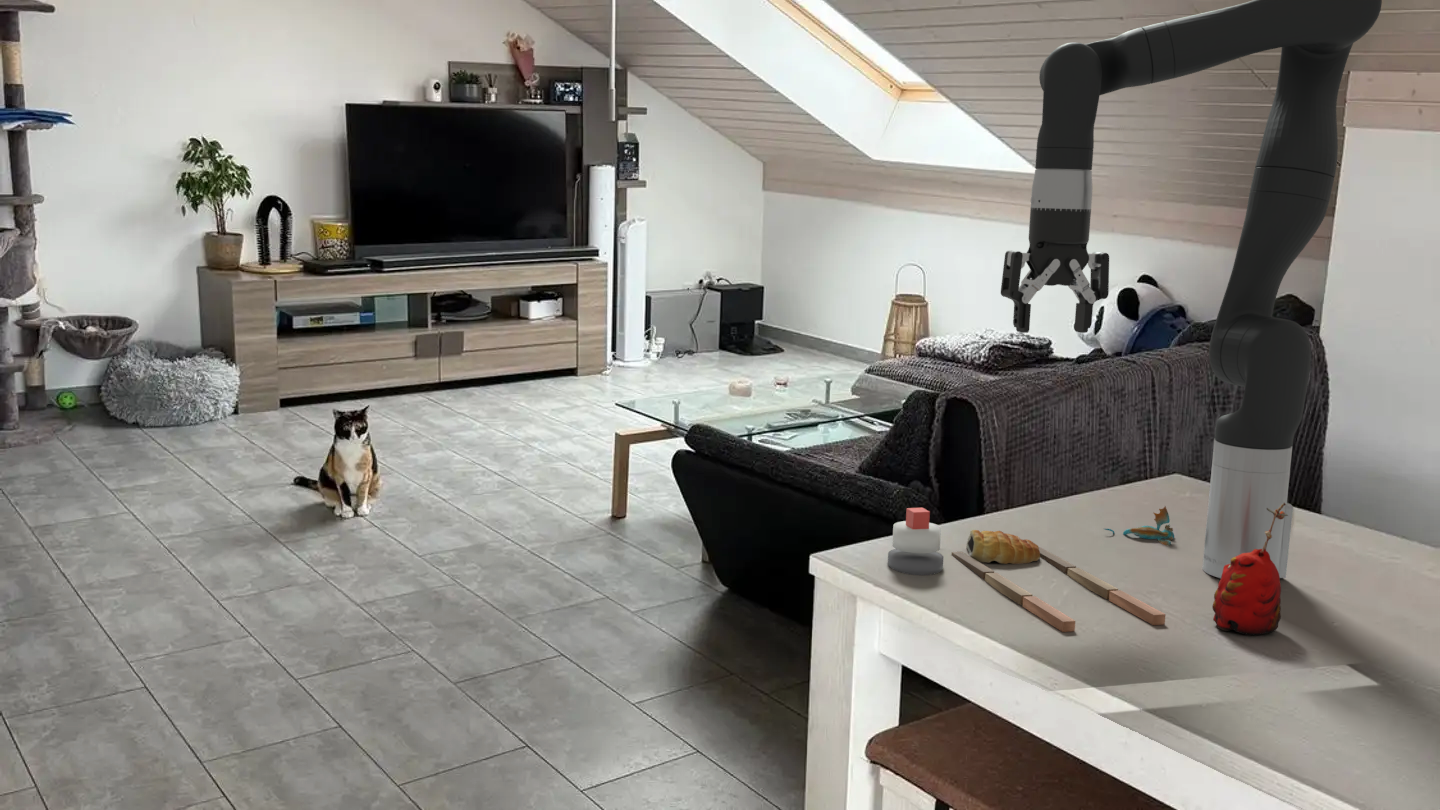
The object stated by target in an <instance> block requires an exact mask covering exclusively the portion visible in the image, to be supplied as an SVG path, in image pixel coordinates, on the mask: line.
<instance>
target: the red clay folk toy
mask: <svg viewBox="0 0 1440 810" xmlns="http://www.w3.org/2000/svg"><path fill="white" fill-rule="evenodd" d="M1285 505H1286V504H1285V503H1283V504H1282V505H1281V506H1280V507H1279V508H1278V509H1276V510H1275V511H1274V512H1273V511H1271V510H1270V509H1268V508H1267V510H1268V511H1270V512H1271V513H1273V515H1274V518H1273V522H1272V525H1271V527H1270V530H1269V531H1265V534H1266V536H1267V539H1266V542H1265V544H1264V546H1263V549H1259V550H1258V549H1254V550H1253V551H1252V552H1249V553H1242V554H1240V555H1238V556H1236V557H1233V558H1232V559H1231V560H1230V561H1231V564H1227V565H1225V566H1224V568H1223V573H1222V576H1221V578H1219V579H1220V580H1219V582H1218V584H1217V588H1216V590H1215V592H1214V594H1213V595H1214V596H1213V599H1214V600H1213V604H1212V610H1213V612H1214V615H1213V622H1215V624H1216V628H1217V629H1219V630H1221V631H1224V632H1230V631H1233V630H1234V632H1236V633H1239V634H1242V635H1246V636H1256V635H1264V634H1265V635H1266V634H1268V633H1273V632H1275V631H1276V630H1278V628H1279V623H1280V621H1281V619H1282V618H1281V617H1282V614H1281V612H1282V611H1281V610H1282V608H1281V607H1282V606H1281V593H1282V586H1281V578H1280V576H1279V573H1278V570H1277V568H1276V566H1275V564H1274V563H1273V562H1272V561H1271V559H1270V555H1269V553H1268V552H1267V551H1266V547H1267V543H1268V540H1269V539H1271V538H1272V535H1271V531H1272V527H1273V524H1274V521H1275V518H1278V519H1283V518H1284V516H1288V515H1287V514H1285V513H1284V511H1281V512H1280V513H1279V511H1280V510H1281V509H1282V508H1283V506H1285Z"/></svg>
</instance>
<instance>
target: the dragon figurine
mask: <svg viewBox="0 0 1440 810" xmlns="http://www.w3.org/2000/svg"><path fill="white" fill-rule="evenodd" d="M1158 510H1159V512H1158V513H1155V512H1154V511H1153V513H1152V514H1154V517H1155V518H1153V520H1154V521H1155V524H1156V527H1154V526H1151V525H1142V526H1140V527H1132V528H1127V529H1125V530H1124V531H1123V532H1122V534H1123V535H1124V536H1126V535H1128V534H1135V535H1137V536H1139V538H1141V539H1146V540H1157V542H1159V544H1162V545H1163V546H1167V547H1170V546H1171V541H1172V540H1174V539H1175V533H1174V528H1173V527H1171V525H1170V524H1169V523H1170V520H1171V519H1170V514H1169V512H1168V509H1167V507H1166V505H1164V507H1163V508H1159V509H1158ZM1165 524H1166V525H1165ZM1167 524H1168V525H1167ZM1162 525H1164V529H1163V530H1161V526H1162ZM1104 530H1105V531H1109V532H1112V533H1113V534H1115V531H1114V530H1113V529H1111V528H1104Z"/></svg>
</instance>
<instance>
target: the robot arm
mask: <svg viewBox="0 0 1440 810" xmlns="http://www.w3.org/2000/svg"><path fill="white" fill-rule="evenodd" d="M1382 3H1383V2H1382V0H1250V1H1247V2H1243V3H1239V4H1236V5H1231V6H1227V7H1224V8H1219V9H1214V10H1211V11H1206V12H1201V13H1197V14H1193V15H1192V14H1191V15H1188V16H1184V17H1179V18H1174V19H1170V20H1166V21H1162V22H1158V23H1153V24H1149V25H1146V26H1142V27H1141V26H1140V27H1137V28H1134V29H1131V30H1128V31H1126V32H1123V33H1121V34H1119V35H1117V36H1115V37H1111V38H1107V39H1102V40H1098V41H1093V42H1088V43H1081V42H1075V41H1073V42H1067V43H1063V44H1062V45H1059V46H1058V47H1056V48H1055V49H1054V50H1053V51H1051V53H1050V54H1049V55H1048V56H1047V57H1046V58H1045V60H1044V61H1043V63H1042V65H1041V67H1040V69H1039V84H1040V88H1041V90H1042V91H1043V93H1042V96H1043V97H1042V117H1041V125H1040V127H1039V130H1038V136H1037V141H1036V149H1035V150H1036V152H1035V153H1036V154H1035V167H1034V168H1035V170H1034V176H1033V180H1032V184H1031V185H1032V186H1031V194H1030V195H1031V196H1030V212H1029V223H1028V224H1029V225H1028V227H1029V228H1028V242H1029V246H1028V249H1027V251H1026V252H1022V251H1019V250H1007V251H1006V252H1005V253H1004V261H1003V267H1002V278H1001V284H1000V285H1001V287H1000V295H1001V297H1005V298H1007V299H1009V300H1011V301H1013V317H1012V318H1013V320H1012V324H1013V328H1015V329H1016V332H1018V333H1021V334H1023V333H1024V334H1026V333H1029V332H1030V325H1031V324H1030V323H1031V321H1030V320H1031V309H1032V304H1031V303H1030V302H1031V300H1032V299H1033V297H1034V296H1035V295H1036V294H1037V292H1038V291H1041V290H1042V288H1043V287H1045V286H1051V287H1053V286H1057V285H1059V286H1066V287H1067V286H1068V288H1069V289H1070V290H1071V291H1073V294H1074V296H1075V297H1076V299H1077V300H1078V301H1079V302H1075V303H1076V304H1075V313H1074V314H1075V315H1074V316H1075V317H1074V329H1073V330H1074V332H1077V333H1084V334H1086V333H1088V332H1089V329H1090V328H1091V327H1092V322H1093V310H1094V304H1095V302H1097V301H1100V300H1105V299H1107V298H1108V297H1109V285H1110V283H1109V282H1110V281H1109V280H1110V255H1109V253H1107V252H1104V251H1103V252H1102V251H1093V252H1092V253H1088V249H1087V247H1088V243H1089V241H1090V230H1091V216H1092V203H1093V202H1092V201H1093V171H1092V170H1093V160H1094V159H1093V157H1094V149H1095V148H1094V145H1095V144H1094V143H1095V139H1094V137H1095V136H1094V134H1095V133H1094V130H1095V123H1096V118H1097V113H1098V108H1099V107H1098V106H1099V101H1100V96H1104V95H1106V94H1110V93H1112V92H1115V91H1118V90H1121V89H1125V88H1134V87H1142V86H1146V85H1150V84H1156V83H1159V82H1164V81H1169V80H1173V79H1177V78H1180V77H1184V76H1188V75H1192V74H1195V73H1199V72H1202V71H1205V70H1208V69H1211V68H1214V67H1217V66H1219V65H1222V64H1226V63H1228V62H1231V61H1235V60H1237V59H1240V58H1243V57H1247V56H1250V55H1254V54H1258V53H1261V52H1265V51H1269V50H1273V49H1274V50H1275V49H1279V48H1281V52H1280V60H1279V69H1278V77H1277V83H1276V90H1275V94H1274V98H1273V101H1272V105H1271V107H1270V111H1269V113H1268V117H1267V121H1266V124H1265V127H1264V132H1263V135H1262V139H1261V143H1260V147H1259V151H1258V154H1257V157H1256V158H1257V159H1256V163H1255V168H1254V172H1253V175H1252V180H1251V181H1252V182H1251V185H1250V190H1249V193H1248V194H1249V195H1248V200H1247V206H1246V212H1245V216H1244V221H1243V226H1242V229H1241V233H1240V238H1239V241H1238V245H1237V250H1236V254H1235V258H1234V263H1233V265H1232V269H1231V272H1230V277H1229V281H1228V283H1227V286H1226V289H1225V292H1224V295H1223V299H1222V301H1221V304H1220V307H1219V310H1218V313H1217V317H1216V318H1215V323H1214V324H1213V325H1214V326H1213V329H1212V333H1211V337H1210V342H1209V349H1208V351H1209V352H1208V356H1209V357H1208V359H1209V364H1210V368H1211V370H1212V372H1213V374H1214V375H1215V376H1216V378H1218V379H1219V380H1220V381H1222V382H1224V383H1226V384H1230V385H1234V386H1237V387H1241V388H1244V389H1243V396H1242V401H1241V405H1240V407H1239V408H1238V409H1237V410H1235V412H1232V413H1228V414H1224V415H1221V416H1220V417H1218V419H1216V422H1215V428H1214V438H1213V448H1212V449H1213V450H1212V451H1213V452H1212V461H1211V469H1210V470H1211V471H1210V473H1211V474H1210V480H1209V481H1210V485H1209V495H1208V501H1207V502H1208V505H1207V515H1206V525H1205V526H1206V527H1205V537H1204V544H1203V545H1204V549H1203V558H1202V571H1204V573H1206V574H1207V575H1210V576H1213V577H1214V578H1215V577H1216V578H1218V579H1221V576H1222V573H1223V568H1224V566H1225V565H1227V564H1231V561H1230V560H1231V559H1232V558H1233V557H1236V556H1238V555H1240V554H1242V553H1249V552H1252V551H1253V550H1254V549H1258V550H1259V549H1263V546H1264V544H1265V542H1266V539H1267V536H1266V534H1265V531H1269V530H1270V527H1271V525H1272V522H1273V518H1274V515H1273V513H1271V512H1270V511H1268V510H1267V508H1268V509H1270V510H1271V511H1273V512H1274V511H1275V510H1276V509H1278V508H1279V507H1280V506H1281V505H1282V504H1283V503H1285V504H1286V505H1285V506H1283V508H1282V509H1281V510H1280V511H1279V513H1280V512H1281V511H1284V513H1285V514H1287V515H1288V516H1284V518H1283V519H1278V518H1275V521H1274V524H1273V527H1272V531H1271V535H1272V538H1271V539H1269V540H1268V543H1267V547H1266V551H1267V552H1268V553H1269V555H1270V559H1271V561H1272V562H1273V563H1274V564H1275V566H1276V568H1277V570H1278V573H1279V576H1280V579H1283V578H1285V579H1286V577H1287V568H1288V561H1289V560H1288V559H1289V552H1290V551H1289V549H1290V541H1291V531H1292V521H1293V520H1292V519H1293V511H1294V510H1293V509H1294V507H1293V505H1292V504H1291V503H1289V502H1288V494H1289V485H1290V484H1289V483H1290V477H1291V476H1290V475H1291V466H1292V465H1291V464H1292V454H1293V445H1294V437H1295V434H1296V432H1297V430H1298V428H1299V426H1300V425H1301V422H1302V419H1303V414H1304V409H1305V408H1304V407H1305V402H1306V398H1307V397H1306V396H1307V395H1306V394H1307V389H1308V385H1309V377H1310V370H1311V361H1312V353H1311V352H1312V350H1311V342H1310V338H1309V336H1308V333H1307V332H1306V331H1305V329H1304V327H1302V326H1301V325H1300V324H1299V323H1298V322H1296V321H1293V320H1290V319H1286V318H1280V317H1274V316H1273V313H1274V307H1275V304H1276V299H1277V295H1278V292H1279V289H1280V286H1281V283H1282V282H1283V279H1284V277H1285V275H1286V273H1287V272H1288V270H1289V268H1290V267H1291V265H1292V264H1293V263H1294V261H1295V260H1296V259H1297V257H1298V256H1299V255H1300V254H1301V252H1302V251H1303V250H1304V249H1305V247H1306V246H1307V245H1308V243H1309V242H1310V241H1311V239H1312V238H1313V237H1314V235H1315V234H1316V233H1317V230H1318V229H1319V228H1320V226H1321V225H1322V223H1323V221H1324V219H1325V217H1326V214H1327V211H1328V207H1329V203H1330V199H1331V195H1332V191H1333V185H1334V182H1335V181H1334V180H1335V177H1336V172H1337V171H1336V170H1337V165H1338V154H1339V153H1338V152H1339V151H1338V149H1339V148H1338V145H1339V144H1338V141H1339V139H1338V124H1337V122H1338V120H1337V119H1338V118H1337V104H1338V103H1337V102H1338V94H1339V90H1340V85H1341V82H1342V80H1343V79H1342V77H1343V75H1344V73H1345V72H1344V71H1345V67H1346V64H1347V62H1348V58H1349V56H1350V52H1351V50H1352V47H1353V45H1354V43H1356V42H1358V40H1360V39H1361V38H1363V37H1364V36H1365V35H1366V34H1367V33H1369V31H1370V29H1372V28H1373V26H1374V25H1375V23H1376V22H1377V20H1378V18H1379V15H1380V12H1381V10H1382ZM1025 264H1027V265H1028V268H1029V271H1028V272H1027V273H1026V274H1025V276H1024V277H1023V278H1022V280H1021V272H1022V269H1023V268H1024V267H1025ZM1086 266H1088V268H1089V269H1090V282H1089V280H1088V278H1087V276H1086V275H1085V273H1084V272H1083V270H1084V269H1085V267H1086ZM1020 281H1021V283H1020Z"/></svg>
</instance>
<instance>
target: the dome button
mask: <svg viewBox="0 0 1440 810" xmlns="http://www.w3.org/2000/svg"><path fill="white" fill-rule="evenodd" d="M930 515H931V511H930V510H927V509H926V508H924V507H908V508H907V507H906V513H905V520H903V521H897V522H895V523H894V524H893V526H892V527H893V528H892V542H891V543H892V546H891V547H893V549H898V550H900V551H904V552H910V553H932V552H938V551H940V549H941V538H942V537H941V536H942V527H941V526H940V525H938V524H936V523H933V522H930V518H931V517H930Z"/></svg>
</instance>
